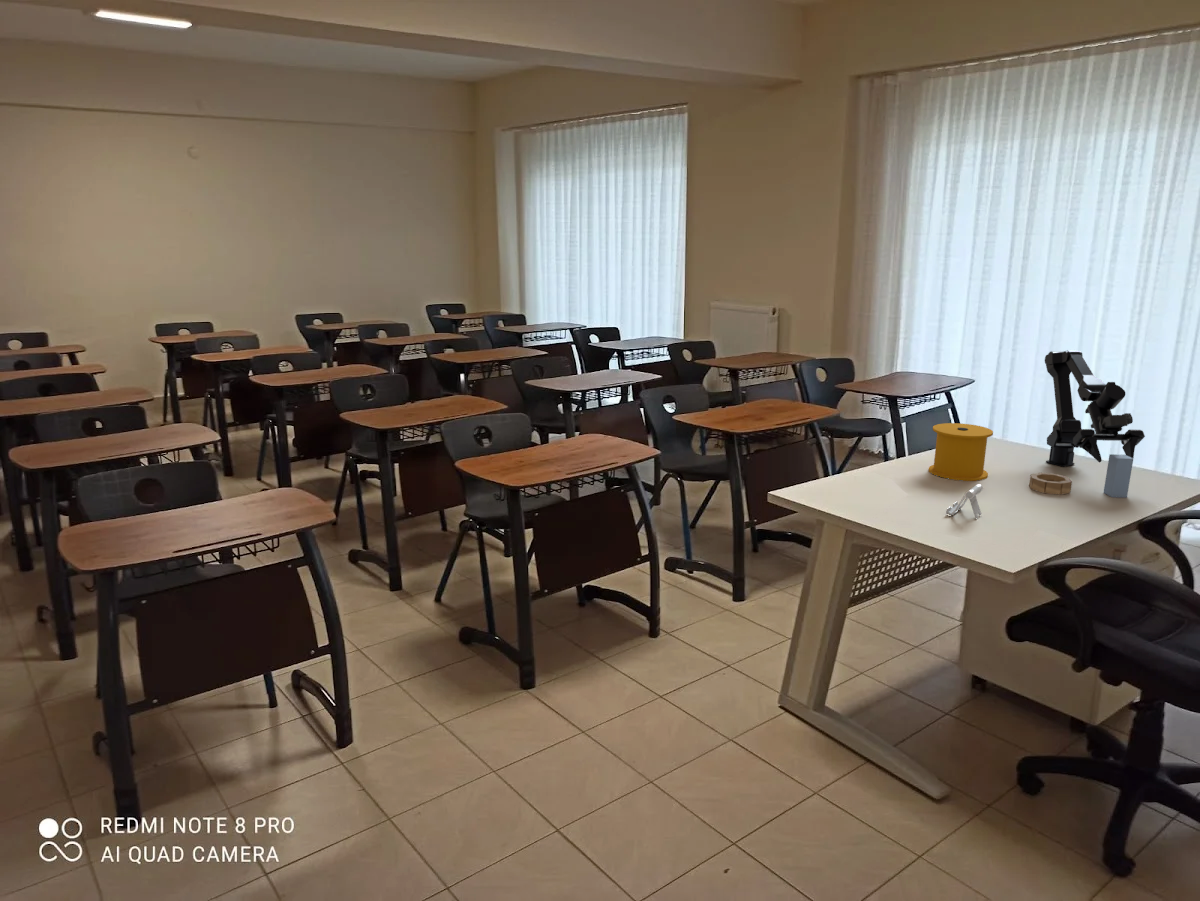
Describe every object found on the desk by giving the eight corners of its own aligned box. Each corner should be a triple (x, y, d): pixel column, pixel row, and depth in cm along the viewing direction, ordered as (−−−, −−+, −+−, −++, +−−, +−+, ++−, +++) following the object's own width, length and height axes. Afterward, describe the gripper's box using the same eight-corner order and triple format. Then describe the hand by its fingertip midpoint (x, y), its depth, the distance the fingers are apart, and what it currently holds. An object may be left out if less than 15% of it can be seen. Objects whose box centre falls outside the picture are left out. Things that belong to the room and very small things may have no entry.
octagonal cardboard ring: (1022, 486, 262) (1023, 475, 261) (1045, 481, 267) (1046, 471, 266) (1054, 496, 253) (1055, 484, 252) (1077, 491, 257) (1078, 480, 256)
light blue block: (1103, 492, 256) (1109, 454, 253) (1118, 492, 256) (1124, 454, 253) (1111, 497, 252) (1117, 458, 248) (1126, 497, 251) (1133, 458, 248)
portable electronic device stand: (955, 508, 242) (958, 480, 240) (984, 514, 237) (987, 485, 235) (945, 516, 236) (948, 487, 234) (974, 522, 231) (978, 492, 229)
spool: (997, 481, 267) (1003, 435, 264) (940, 481, 268) (945, 435, 264) (974, 465, 285) (979, 422, 281) (920, 465, 285) (924, 422, 281)
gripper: (1083, 403, 255) (1096, 447, 247) (1146, 403, 254) (1162, 448, 246) (1066, 423, 264) (1079, 466, 256) (1127, 423, 263) (1142, 467, 256)
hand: (1116, 461), depth 253 cm, fingers open, 9 cm apart
